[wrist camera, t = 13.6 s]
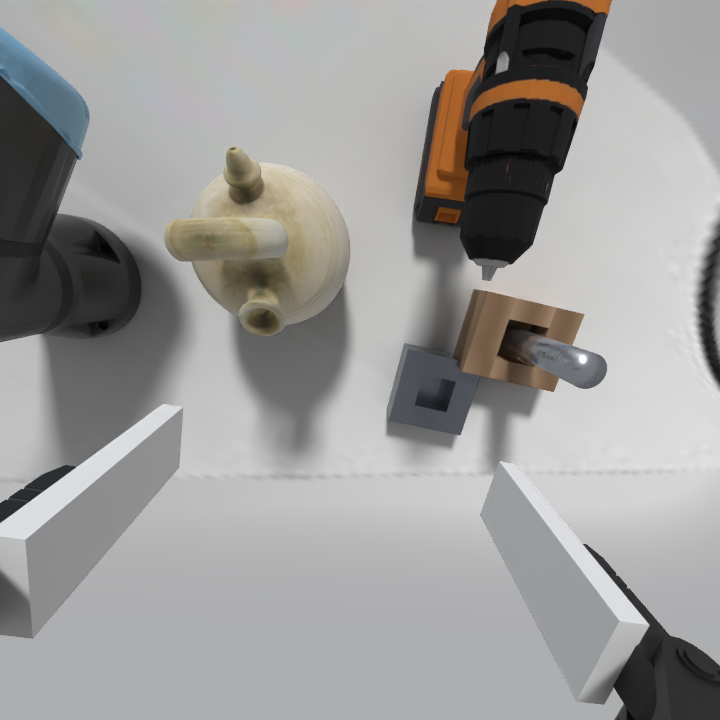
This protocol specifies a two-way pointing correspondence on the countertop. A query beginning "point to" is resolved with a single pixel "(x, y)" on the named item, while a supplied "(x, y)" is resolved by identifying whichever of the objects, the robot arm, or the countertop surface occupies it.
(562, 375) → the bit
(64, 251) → the robot arm
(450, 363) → the socket block
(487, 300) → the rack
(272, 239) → the jug
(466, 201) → the power drill
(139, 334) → the countertop surface
